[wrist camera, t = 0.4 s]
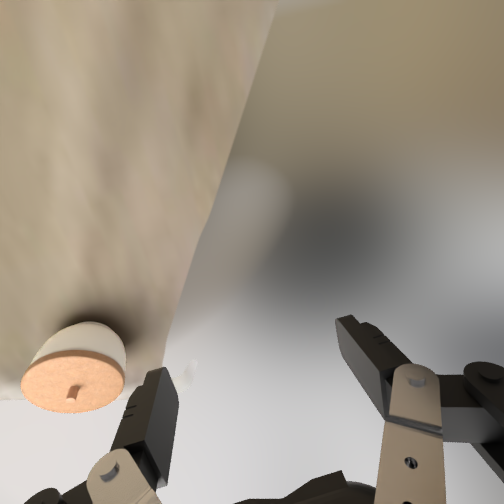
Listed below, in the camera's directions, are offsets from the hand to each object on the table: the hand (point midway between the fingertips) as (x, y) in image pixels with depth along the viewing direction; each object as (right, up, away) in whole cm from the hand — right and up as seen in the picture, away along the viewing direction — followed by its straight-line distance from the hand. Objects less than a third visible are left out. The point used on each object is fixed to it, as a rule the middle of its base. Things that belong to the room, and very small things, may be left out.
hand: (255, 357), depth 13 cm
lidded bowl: (-27, -9, +34) cm, 44 cm away
